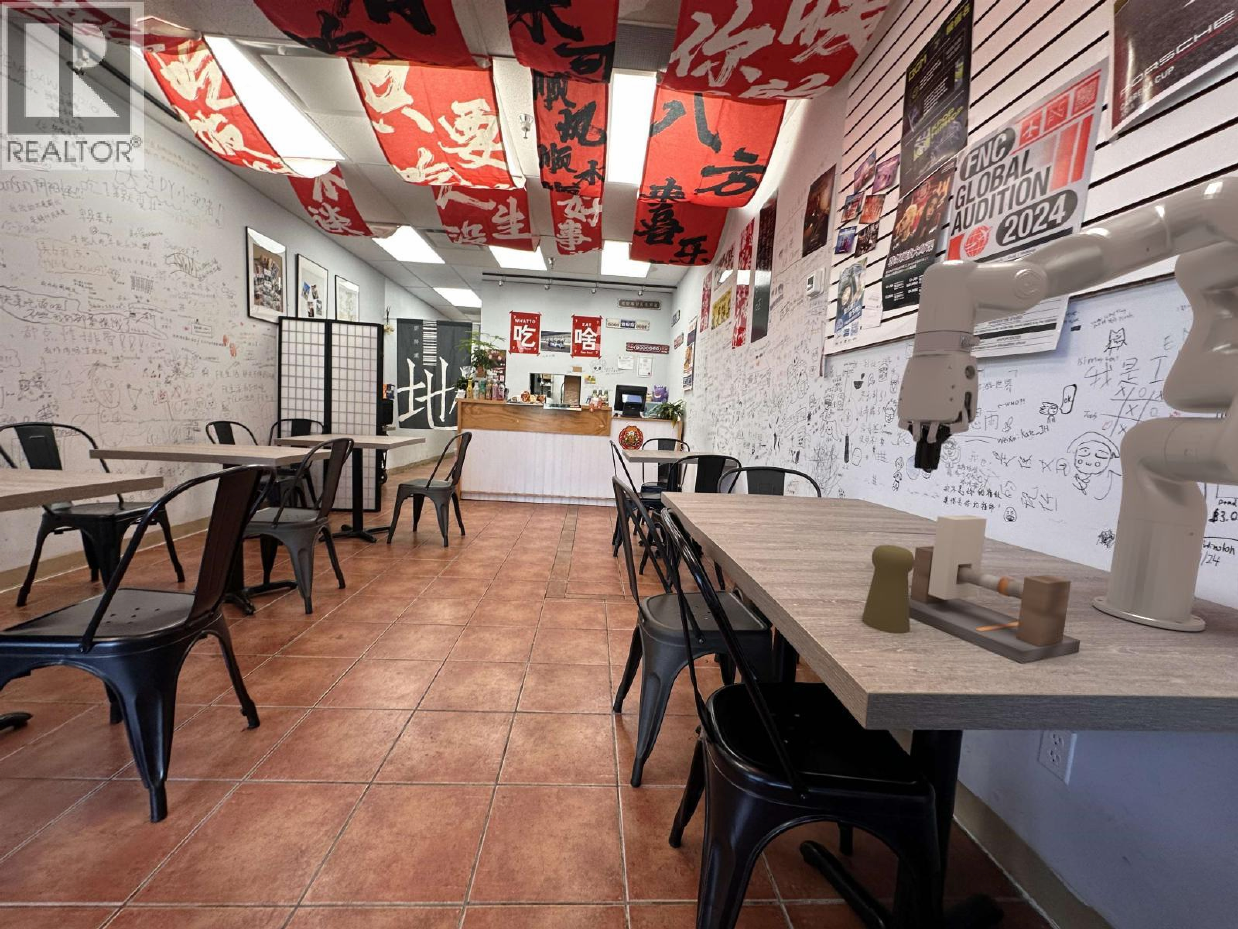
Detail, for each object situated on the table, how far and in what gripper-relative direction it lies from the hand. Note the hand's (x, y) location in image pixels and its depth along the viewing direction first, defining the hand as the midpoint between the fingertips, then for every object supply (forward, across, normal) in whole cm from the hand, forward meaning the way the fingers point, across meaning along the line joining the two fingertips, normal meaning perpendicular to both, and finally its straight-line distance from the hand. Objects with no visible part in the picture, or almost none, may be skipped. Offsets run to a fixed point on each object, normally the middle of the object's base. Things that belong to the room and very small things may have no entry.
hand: (925, 468), depth 80 cm
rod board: (+21, -10, -1) cm, 24 cm away
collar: (+18, -6, -1) cm, 19 cm away
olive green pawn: (+22, -6, +12) cm, 25 cm away
